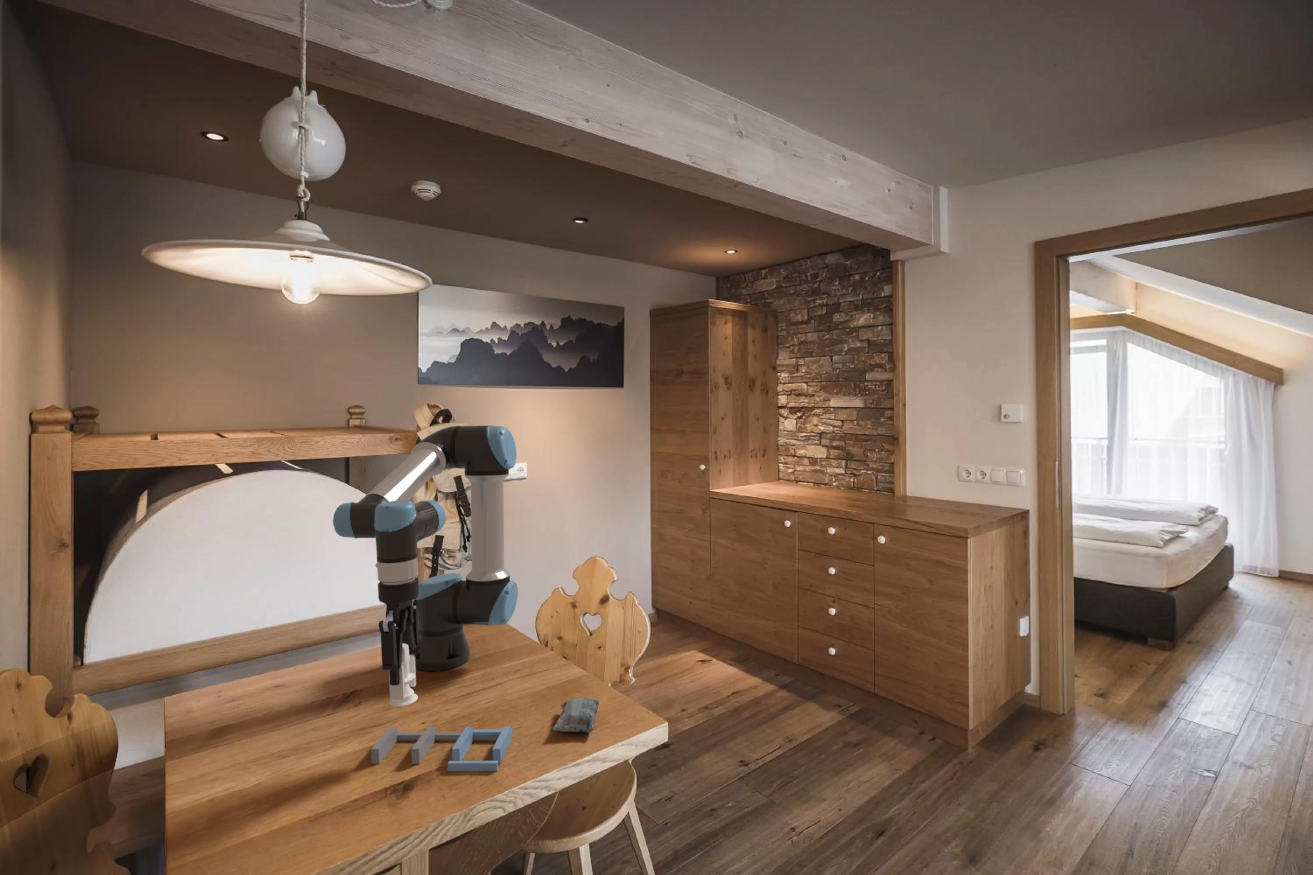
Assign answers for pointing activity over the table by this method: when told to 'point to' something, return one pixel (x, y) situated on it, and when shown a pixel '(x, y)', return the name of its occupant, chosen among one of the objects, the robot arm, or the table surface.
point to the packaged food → (577, 715)
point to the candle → (406, 680)
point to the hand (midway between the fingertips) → (403, 691)
